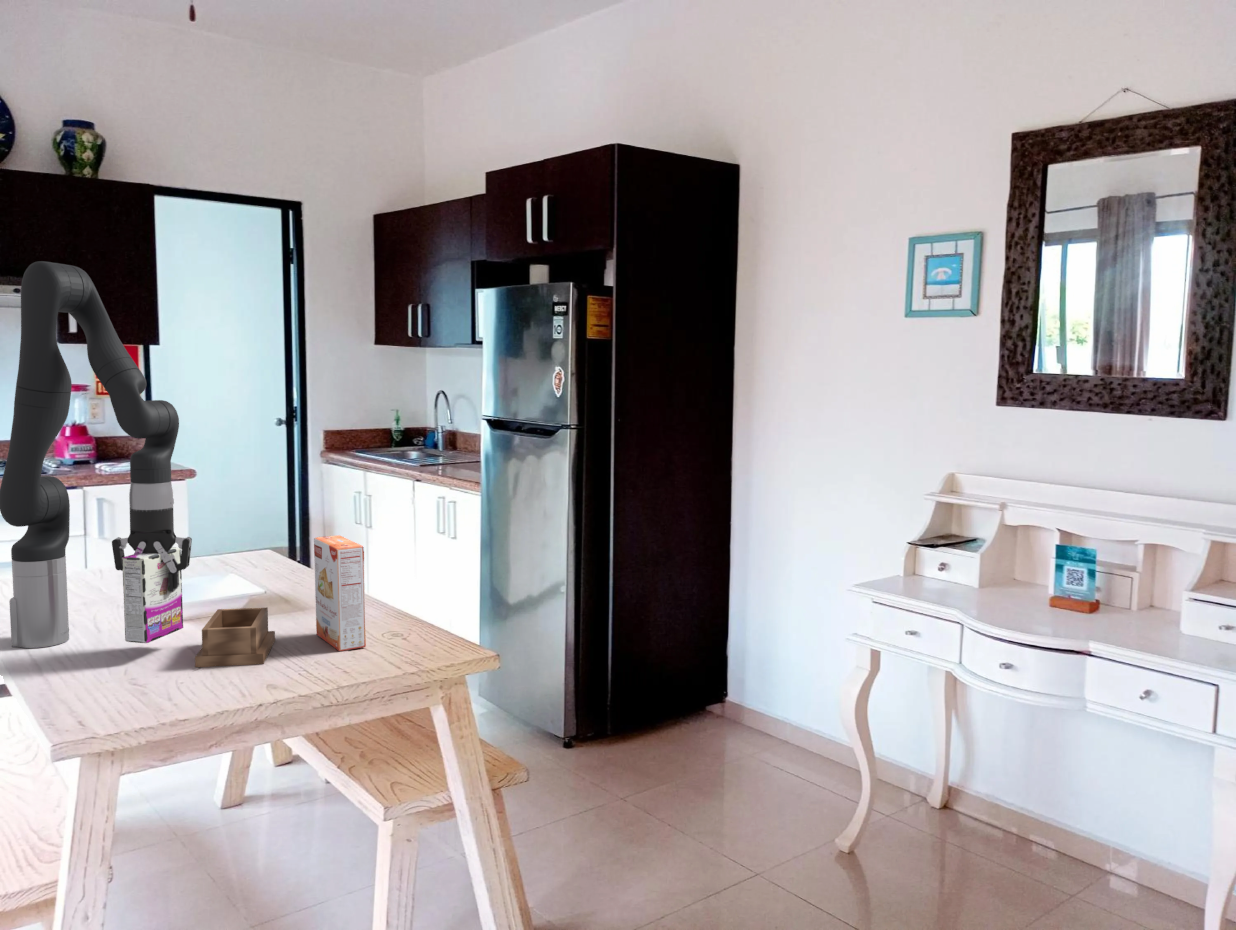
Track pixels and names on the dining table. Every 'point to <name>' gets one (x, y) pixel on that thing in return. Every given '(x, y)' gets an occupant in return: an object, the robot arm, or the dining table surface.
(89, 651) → the dining table surface
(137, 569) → the candy bar box
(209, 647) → the walnut stand
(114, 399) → the robot arm
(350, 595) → the cracker box
